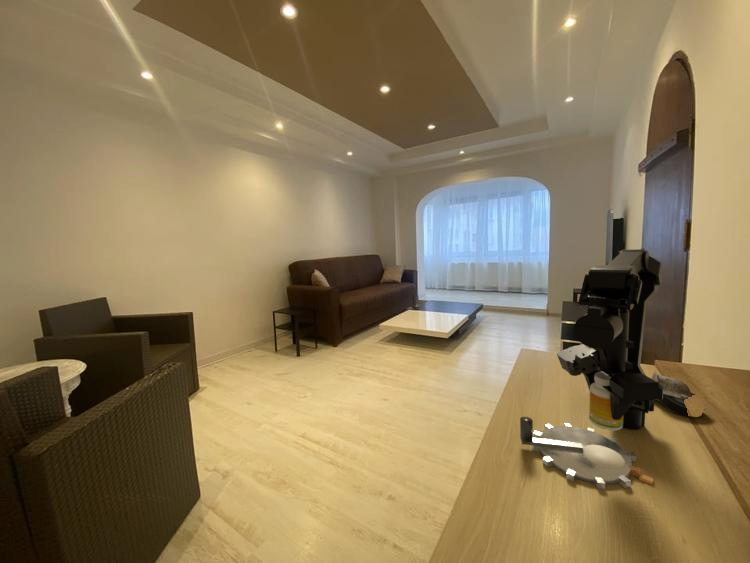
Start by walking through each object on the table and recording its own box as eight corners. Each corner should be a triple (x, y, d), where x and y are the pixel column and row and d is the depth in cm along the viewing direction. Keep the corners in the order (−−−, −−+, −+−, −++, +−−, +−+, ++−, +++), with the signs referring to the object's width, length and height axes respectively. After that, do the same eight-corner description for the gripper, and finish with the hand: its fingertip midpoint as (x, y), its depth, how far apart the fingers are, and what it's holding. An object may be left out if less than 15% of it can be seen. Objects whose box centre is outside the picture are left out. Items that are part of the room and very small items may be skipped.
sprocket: (526, 418, 78) (526, 393, 77) (630, 441, 67) (632, 413, 67) (516, 464, 63) (516, 434, 62) (648, 504, 52) (650, 469, 51)
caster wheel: (703, 429, 76) (650, 413, 81) (693, 400, 84) (646, 387, 90) (713, 408, 73) (657, 393, 78) (702, 380, 82) (652, 368, 87)
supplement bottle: (625, 434, 57) (627, 384, 56) (589, 426, 60) (591, 379, 59) (620, 419, 62) (623, 372, 60) (587, 412, 64) (589, 368, 63)
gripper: (541, 322, 68) (541, 389, 70) (594, 353, 50) (591, 442, 52) (594, 320, 67) (592, 387, 69) (669, 350, 49) (663, 441, 51)
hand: (605, 410), depth 60 cm, fingers closed on supplement bottle, 5 cm apart
